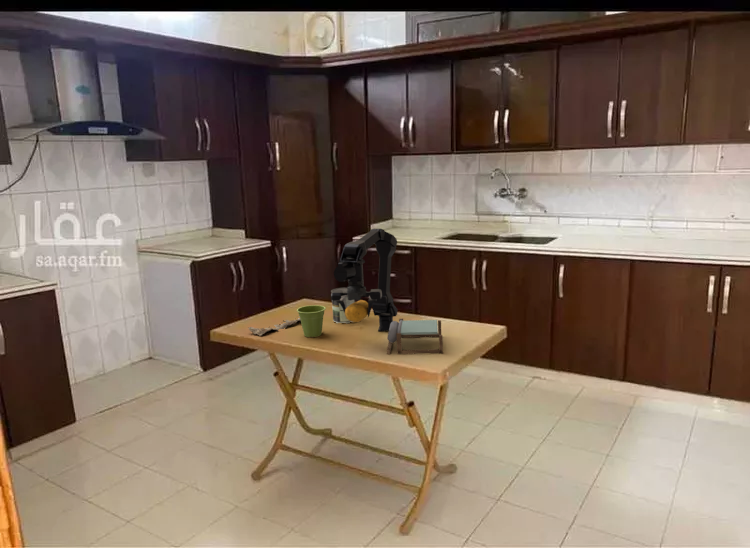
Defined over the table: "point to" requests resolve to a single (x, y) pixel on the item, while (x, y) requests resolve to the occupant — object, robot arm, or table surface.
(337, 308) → the coffee can
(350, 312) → the potato
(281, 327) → the crumpled grey wrapper
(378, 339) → the table surface
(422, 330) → the trapdoor
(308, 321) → the plant pot
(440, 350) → the trapdoor frame
